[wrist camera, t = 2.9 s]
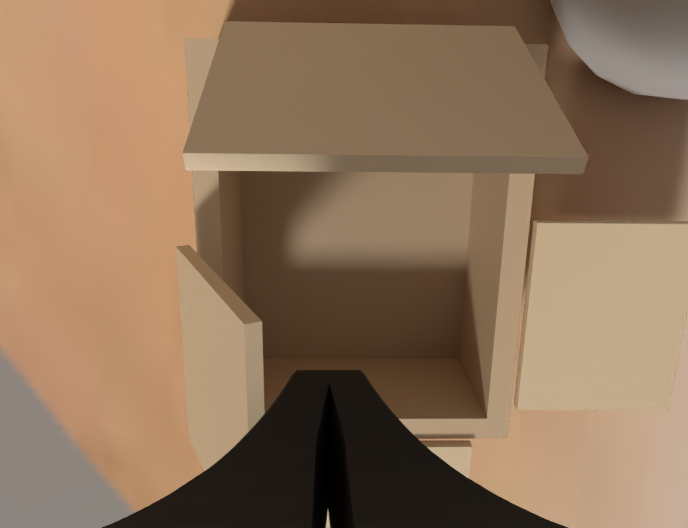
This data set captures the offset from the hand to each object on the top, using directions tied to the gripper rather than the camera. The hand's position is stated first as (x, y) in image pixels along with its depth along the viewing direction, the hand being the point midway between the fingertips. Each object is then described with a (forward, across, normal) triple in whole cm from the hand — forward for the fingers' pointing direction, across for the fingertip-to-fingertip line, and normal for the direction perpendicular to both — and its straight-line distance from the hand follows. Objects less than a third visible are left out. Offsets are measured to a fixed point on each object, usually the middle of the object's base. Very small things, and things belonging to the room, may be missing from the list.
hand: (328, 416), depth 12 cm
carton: (+8, -3, +1) cm, 8 cm away
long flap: (+1, -1, -6) cm, 6 cm away
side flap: (+1, +2, 0) cm, 2 cm away
